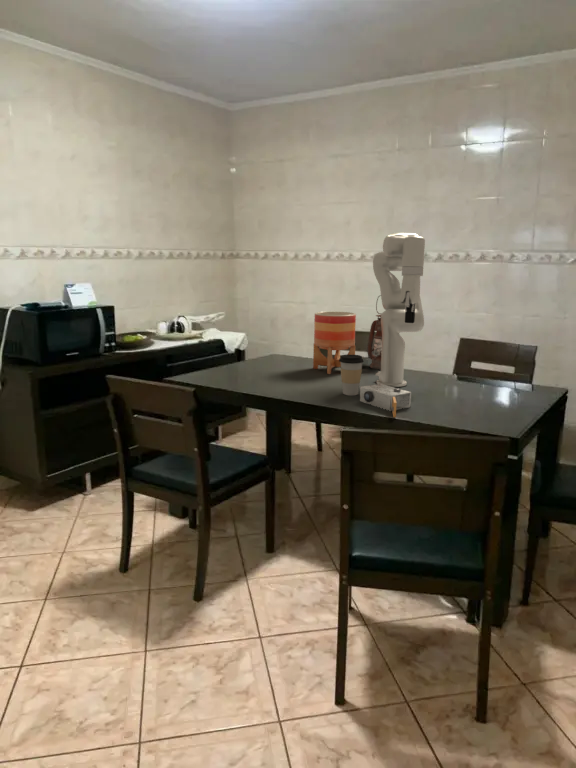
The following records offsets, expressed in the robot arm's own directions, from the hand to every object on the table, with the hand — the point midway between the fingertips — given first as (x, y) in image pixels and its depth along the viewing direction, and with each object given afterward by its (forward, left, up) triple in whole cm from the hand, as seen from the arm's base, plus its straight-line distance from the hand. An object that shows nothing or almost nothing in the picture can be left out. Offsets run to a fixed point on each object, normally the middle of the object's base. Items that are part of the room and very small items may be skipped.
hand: (409, 322), depth 206 cm
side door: (+13, -19, -29) cm, 37 cm away
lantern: (-52, +36, -29) cm, 70 cm away
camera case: (+1, -11, -29) cm, 31 cm away
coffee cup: (-18, -12, -29) cm, 36 cm away
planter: (-59, +12, -29) cm, 67 cm away
